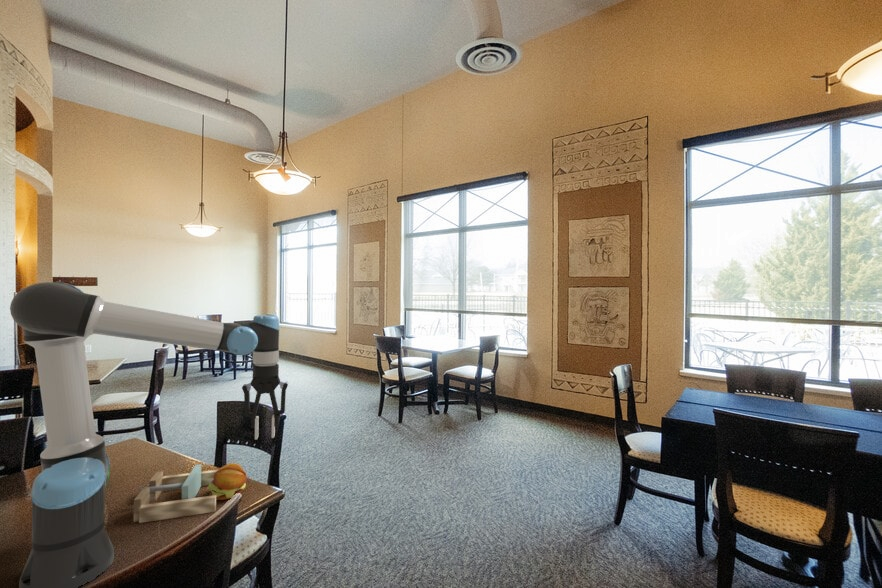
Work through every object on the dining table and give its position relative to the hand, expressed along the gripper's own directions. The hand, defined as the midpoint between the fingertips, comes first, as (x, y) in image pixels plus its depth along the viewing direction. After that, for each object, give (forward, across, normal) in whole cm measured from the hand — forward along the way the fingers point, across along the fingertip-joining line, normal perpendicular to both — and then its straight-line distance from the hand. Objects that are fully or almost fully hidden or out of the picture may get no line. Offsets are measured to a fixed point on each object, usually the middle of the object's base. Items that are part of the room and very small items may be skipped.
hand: (264, 436), depth 124 cm
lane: (+17, +22, 0) cm, 27 cm away
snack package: (+17, +52, -19) cm, 57 cm away
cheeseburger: (+17, +10, 0) cm, 20 cm away
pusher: (+16, +26, 0) cm, 31 cm away
